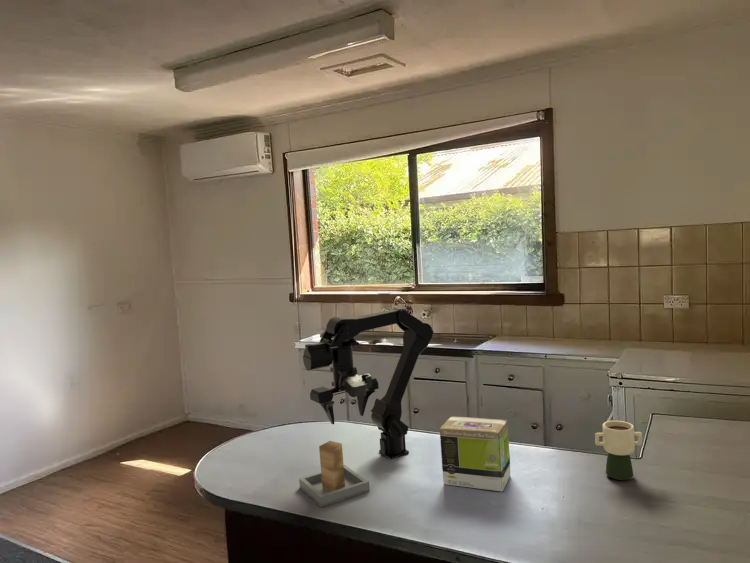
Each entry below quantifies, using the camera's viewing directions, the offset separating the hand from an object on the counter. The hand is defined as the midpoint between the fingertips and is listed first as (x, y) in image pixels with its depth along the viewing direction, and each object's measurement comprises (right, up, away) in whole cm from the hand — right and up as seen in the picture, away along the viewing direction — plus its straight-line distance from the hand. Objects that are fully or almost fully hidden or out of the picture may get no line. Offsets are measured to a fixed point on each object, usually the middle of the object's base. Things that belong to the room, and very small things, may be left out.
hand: (347, 419), depth 158 cm
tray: (-3, -14, -13) cm, 20 cm away
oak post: (-3, -14, -13) cm, 19 cm away
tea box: (+33, -12, -13) cm, 38 cm away
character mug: (+67, -10, -16) cm, 70 cm away
